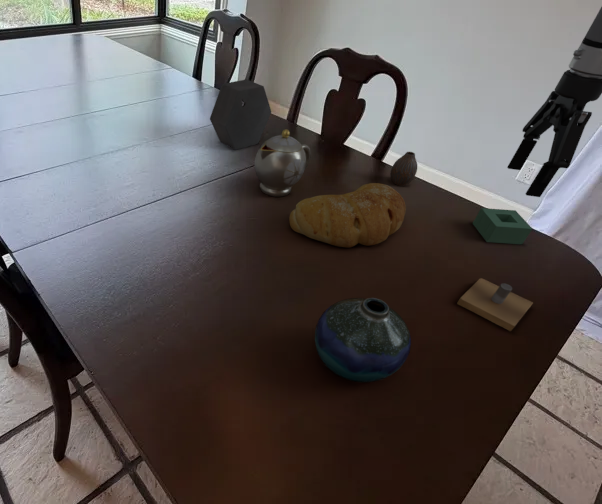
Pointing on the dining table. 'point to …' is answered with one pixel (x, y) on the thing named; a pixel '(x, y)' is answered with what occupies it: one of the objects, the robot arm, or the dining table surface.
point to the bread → (350, 216)
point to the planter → (240, 113)
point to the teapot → (281, 164)
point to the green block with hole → (502, 226)
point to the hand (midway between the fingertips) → (522, 181)
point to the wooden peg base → (495, 303)
